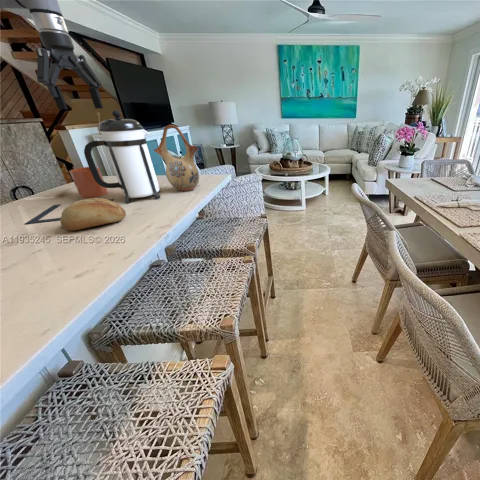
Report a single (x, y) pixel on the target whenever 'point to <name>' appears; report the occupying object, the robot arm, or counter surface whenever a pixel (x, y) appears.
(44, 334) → the counter surface
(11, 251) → the counter surface
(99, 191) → the terracotta flower pot
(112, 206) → the bread roll
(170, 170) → the ceramic vessel
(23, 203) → the counter surface
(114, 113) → the coffee press
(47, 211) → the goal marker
